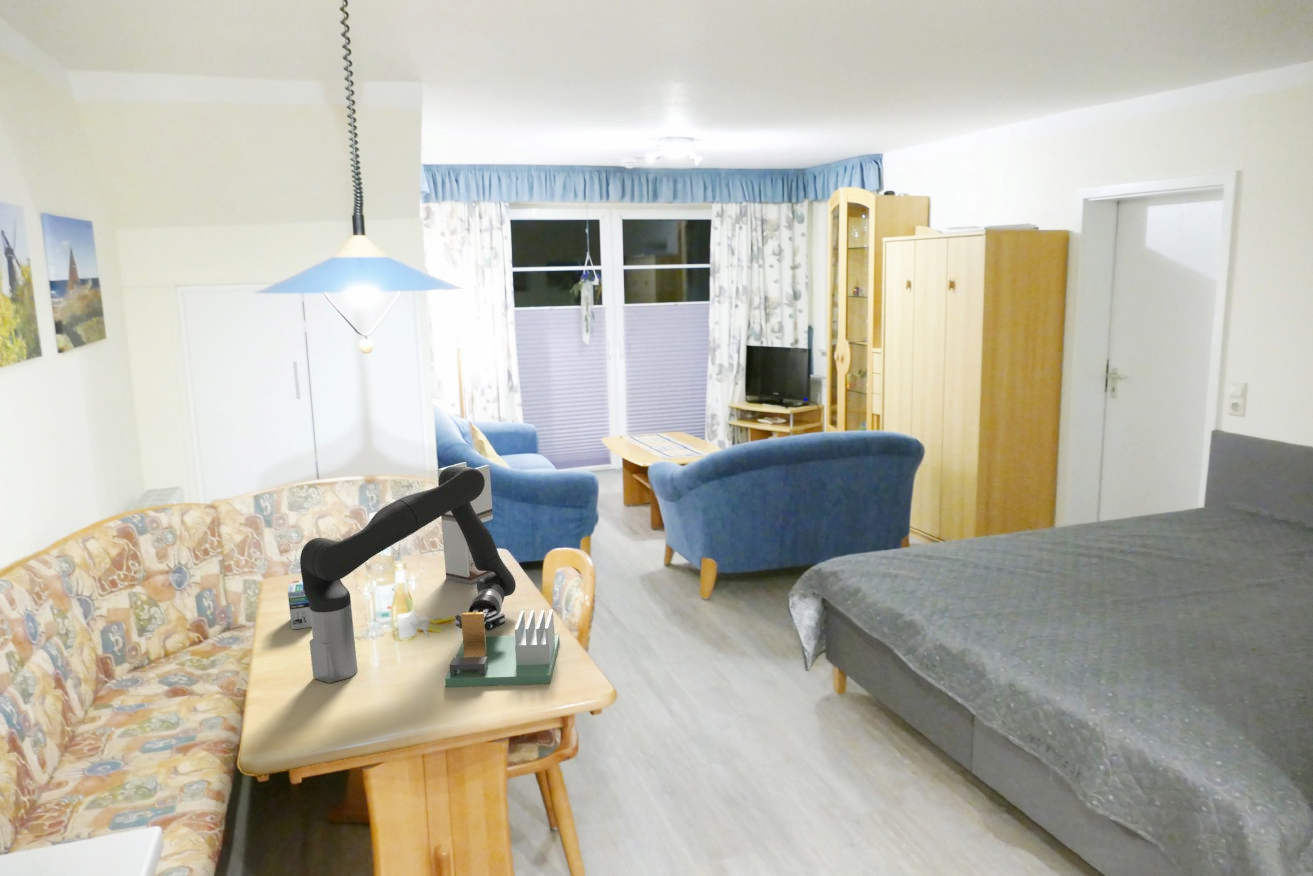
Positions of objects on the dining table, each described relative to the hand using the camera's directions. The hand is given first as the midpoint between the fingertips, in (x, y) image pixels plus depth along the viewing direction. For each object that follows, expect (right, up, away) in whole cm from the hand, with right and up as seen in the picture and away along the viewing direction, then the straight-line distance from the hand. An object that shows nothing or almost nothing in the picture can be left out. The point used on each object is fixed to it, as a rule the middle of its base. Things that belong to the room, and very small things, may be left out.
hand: (474, 633), depth 220 cm
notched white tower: (-14, +4, +66) cm, 68 cm away
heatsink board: (+7, -8, +2) cm, 11 cm away
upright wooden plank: (0, -6, -2) cm, 6 cm away
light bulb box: (-53, -4, +33) cm, 63 cm away
